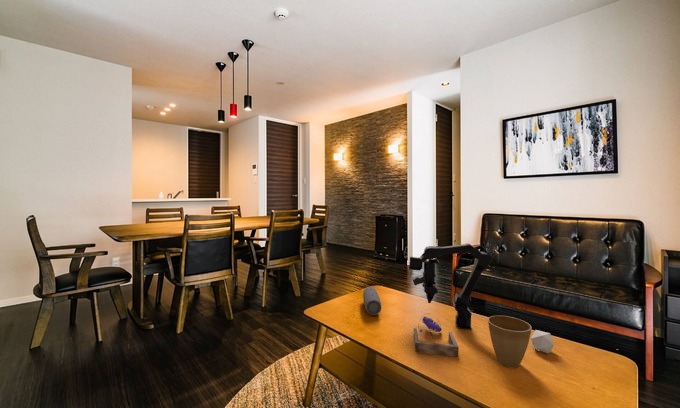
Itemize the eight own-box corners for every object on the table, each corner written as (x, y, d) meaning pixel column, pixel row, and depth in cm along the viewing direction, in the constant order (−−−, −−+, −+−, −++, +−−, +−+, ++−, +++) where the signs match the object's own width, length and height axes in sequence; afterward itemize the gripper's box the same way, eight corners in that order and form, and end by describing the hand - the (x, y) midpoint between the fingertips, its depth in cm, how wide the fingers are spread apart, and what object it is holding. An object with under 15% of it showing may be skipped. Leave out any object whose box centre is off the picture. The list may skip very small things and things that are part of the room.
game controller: (449, 323, 141) (439, 326, 133) (441, 340, 142) (431, 343, 134) (429, 310, 148) (419, 312, 140) (422, 326, 149) (411, 328, 141)
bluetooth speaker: (382, 317, 156) (382, 299, 156) (365, 317, 156) (365, 298, 156) (377, 301, 179) (377, 285, 179) (362, 301, 179) (362, 285, 179)
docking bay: (451, 340, 133) (452, 331, 132) (458, 356, 119) (458, 347, 119) (413, 336, 136) (413, 328, 136) (415, 352, 123) (415, 342, 122)
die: (555, 351, 126) (542, 328, 131) (562, 350, 119) (548, 326, 124) (536, 356, 127) (523, 333, 132) (542, 356, 120) (528, 331, 125)
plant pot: (529, 359, 118) (531, 320, 118) (530, 378, 106) (531, 335, 105) (488, 348, 126) (489, 312, 126) (484, 365, 114) (485, 324, 113)
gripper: (412, 265, 161) (411, 294, 162) (414, 275, 143) (413, 306, 143) (433, 267, 159) (432, 295, 160) (438, 276, 141) (437, 308, 141)
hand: (428, 301), depth 151 cm, fingers open, 5 cm apart
